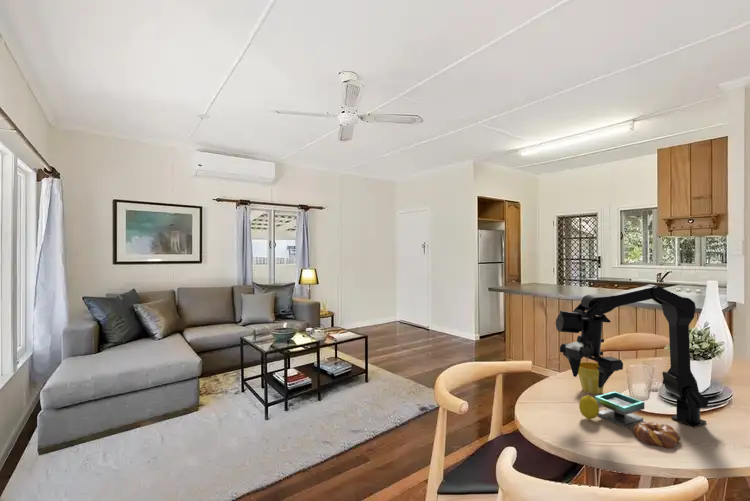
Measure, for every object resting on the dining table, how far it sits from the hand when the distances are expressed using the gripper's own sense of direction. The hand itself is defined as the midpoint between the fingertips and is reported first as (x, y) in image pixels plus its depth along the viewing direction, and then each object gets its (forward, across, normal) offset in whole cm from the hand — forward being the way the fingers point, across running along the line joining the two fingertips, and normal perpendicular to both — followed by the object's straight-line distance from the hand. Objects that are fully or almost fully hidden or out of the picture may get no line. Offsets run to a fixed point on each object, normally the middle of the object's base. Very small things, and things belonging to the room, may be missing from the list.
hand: (587, 381), depth 118 cm
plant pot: (+11, -15, +22) cm, 29 cm away
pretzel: (+11, +16, +10) cm, 22 cm away
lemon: (+12, +1, +2) cm, 13 cm away
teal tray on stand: (+11, +4, +11) cm, 16 cm away
